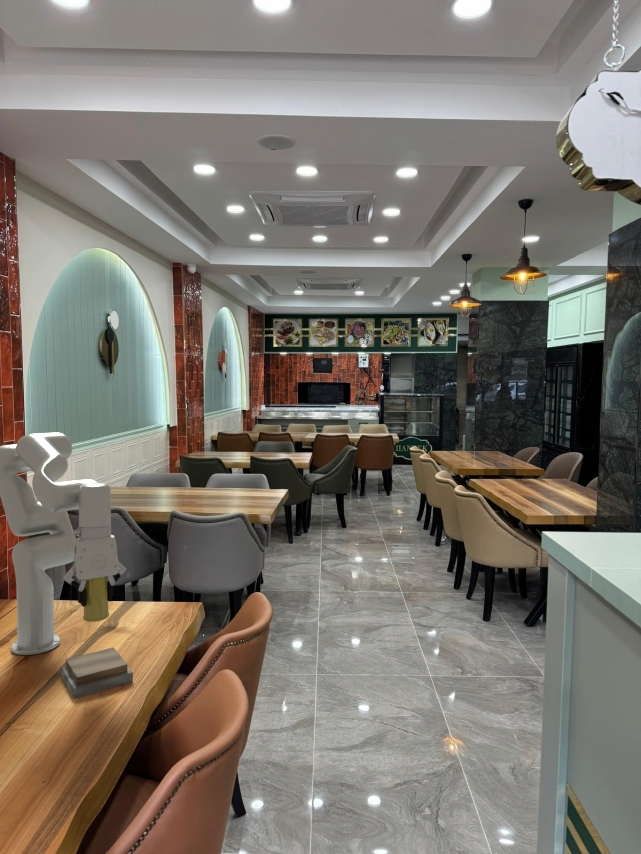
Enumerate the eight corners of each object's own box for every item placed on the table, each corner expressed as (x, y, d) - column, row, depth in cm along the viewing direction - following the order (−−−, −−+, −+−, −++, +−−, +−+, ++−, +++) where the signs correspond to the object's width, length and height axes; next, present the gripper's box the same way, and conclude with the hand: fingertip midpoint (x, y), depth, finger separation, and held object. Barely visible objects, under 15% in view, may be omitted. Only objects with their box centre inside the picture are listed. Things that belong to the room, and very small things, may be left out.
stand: (61, 675, 146) (60, 658, 146) (116, 661, 155) (116, 645, 154) (74, 698, 135) (73, 680, 135) (132, 682, 143) (132, 664, 143)
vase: (93, 623, 140) (92, 567, 139) (78, 618, 143) (77, 563, 142) (114, 616, 145) (113, 561, 144) (98, 611, 148) (98, 557, 148)
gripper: (62, 539, 135) (63, 614, 136) (134, 530, 145) (134, 599, 146) (55, 533, 141) (56, 605, 142) (124, 525, 151) (125, 592, 152)
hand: (96, 601), depth 144 cm, fingers closed on vase, 5 cm apart
